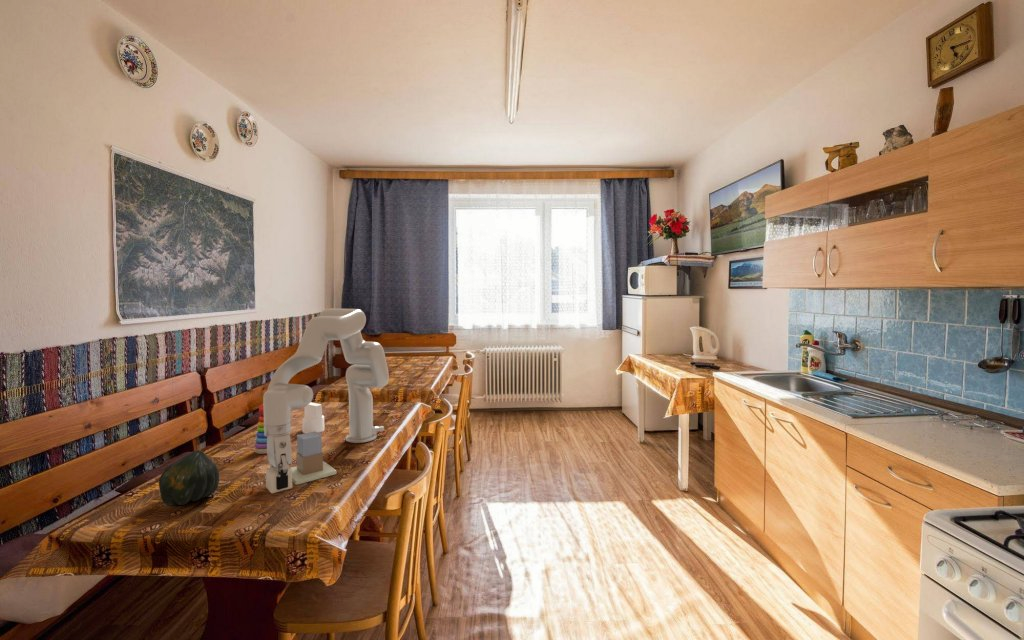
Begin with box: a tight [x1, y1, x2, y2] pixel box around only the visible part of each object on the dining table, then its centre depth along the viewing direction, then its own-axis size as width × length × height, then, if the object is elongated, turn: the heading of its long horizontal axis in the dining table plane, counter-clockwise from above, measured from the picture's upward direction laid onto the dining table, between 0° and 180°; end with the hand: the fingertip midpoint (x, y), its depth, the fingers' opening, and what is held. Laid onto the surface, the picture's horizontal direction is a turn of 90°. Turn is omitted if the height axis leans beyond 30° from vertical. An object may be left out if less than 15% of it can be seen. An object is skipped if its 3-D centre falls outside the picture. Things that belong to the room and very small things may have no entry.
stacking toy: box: [253, 403, 267, 455], centre depth 175 cm, size 8×8×19 cm
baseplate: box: [290, 452, 337, 486], centre depth 154 cm, size 13×13×7 cm
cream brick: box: [265, 464, 293, 494], centre depth 143 cm, size 6×6×6 cm
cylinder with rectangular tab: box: [301, 401, 325, 434], centre depth 202 cm, size 9×9×12 cm
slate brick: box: [296, 432, 323, 457], centre depth 154 cm, size 6×6×6 cm
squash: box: [158, 449, 220, 507], centre depth 135 cm, size 14×15×15 cm
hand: (279, 484), depth 143 cm, fingers closed on cream brick, 6 cm apart
